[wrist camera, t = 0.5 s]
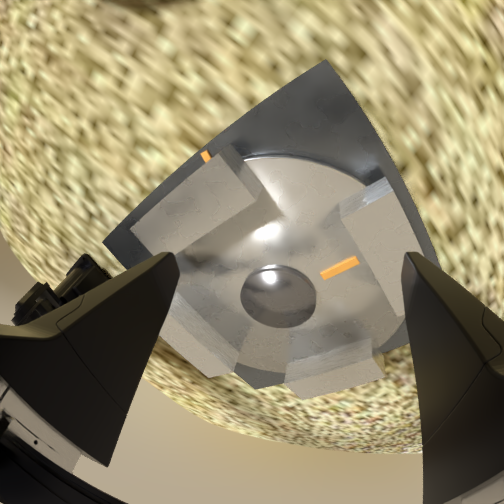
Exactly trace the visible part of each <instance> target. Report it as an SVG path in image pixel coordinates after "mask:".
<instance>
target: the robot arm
mask: <svg viewBox="0 0 504 504" xmlns="http://www.w3.org/2000/svg"><path fill="white" fill-rule="evenodd" d="M66 276H67V277H66V278H65V279H64V280H63V281H62V282H61V283H60V284H59V285H58V286H57V287H56V289H55V290H54V291H53V290H52V289H51V288H50V285H49V284H48V283H47V282H46V283H45V284H44V285H43V284H41V283H39V282H37V283H36V284H35V285H34V286H33V287H32V288H31V289H30V291H28V293H26V294H25V296H23V298H22V299H21V300H20V301H19V302H18V303H17V304H16V305H15V313H14V315H15V316H14V318H13V319H12V320H11V321H12V322H13V323H14V324H15V326H10V325H3V324H0V502H1V503H3V504H128V503H125V502H123V501H121V500H119V499H117V498H115V497H113V496H111V495H109V494H107V493H105V492H103V491H101V490H99V489H97V488H96V487H94V486H92V485H90V484H88V483H87V482H85V481H83V480H81V479H80V478H78V477H76V476H75V475H73V474H72V471H73V469H74V467H75V465H76V463H77V461H78V459H79V457H80V455H81V454H82V455H84V456H85V457H87V458H89V459H91V460H93V461H95V462H97V463H99V464H101V465H103V466H105V467H108V466H109V464H110V461H111V458H112V455H113V452H114V449H115V447H116V444H117V441H118V438H119V435H120V433H121V430H122V427H123V424H124V421H125V419H126V416H127V413H128V411H129V408H130V405H131V403H132V400H133V397H134V395H135V392H136V390H137V387H138V385H139V382H140V379H141V377H142V374H143V372H144V369H145V367H146V365H147V362H148V360H149V357H150V355H151V352H152V350H153V348H154V345H155V343H156V340H157V338H158V336H159V333H160V331H161V329H162V326H163V324H164V322H165V319H166V317H167V314H168V312H169V309H170V306H171V303H172V300H173V296H174V293H175V290H176V287H177V284H178V281H179V277H180V271H179V268H178V264H177V261H176V258H175V255H174V254H173V253H172V252H161V253H159V254H157V255H155V256H153V257H151V258H149V259H147V260H145V261H143V262H142V263H140V264H138V265H136V266H134V267H132V268H130V269H128V270H127V271H125V272H123V273H121V274H119V275H117V276H116V277H114V278H112V279H109V278H108V277H107V276H106V275H105V274H104V273H103V272H102V271H101V270H100V268H99V267H98V266H97V265H96V264H95V263H94V262H93V261H92V260H91V258H90V257H89V256H88V255H87V254H83V255H82V256H81V257H80V258H79V259H78V260H77V262H76V263H75V264H74V265H73V267H72V268H71V269H70V270H69V271H68V273H67V274H66ZM401 285H402V293H403V302H404V311H405V321H406V326H407V331H408V336H409V342H410V347H411V353H412V358H413V364H414V371H415V377H416V385H417V392H418V400H419V409H420V420H421V432H422V445H423V447H422V451H423V504H504V321H503V320H502V319H500V318H499V317H498V316H497V315H496V314H495V313H493V312H492V311H491V310H490V309H489V308H488V307H485V305H484V304H483V303H482V302H481V301H479V300H478V299H477V298H476V297H475V296H474V295H472V294H471V293H470V292H469V291H467V290H466V289H465V288H464V287H463V286H461V285H460V284H459V283H458V282H456V281H455V280H454V279H453V278H451V277H450V276H449V275H448V274H446V273H445V272H444V271H442V270H441V269H440V268H439V267H437V266H436V265H435V264H433V263H432V262H431V261H429V260H428V259H427V258H425V257H424V256H423V255H421V254H420V253H419V252H406V253H405V255H404V259H403V265H402V271H401Z"/></svg>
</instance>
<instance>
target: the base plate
mask: <svg viewBox="0 0 504 504" xmlns="http://www.w3.org/2000/svg"><path fill="white" fill-rule="evenodd" d="M229 144H231V145H232V146H233V147H234V148H235V150H236V151H237V152H238V153H239V155H240V156H241V157H242V158H248V157H255V156H262V155H290V156H297V157H304V158H310V159H313V160H317V161H320V162H324V163H327V164H330V165H333V166H335V167H337V168H339V169H342V170H344V171H346V172H348V173H350V174H352V175H353V176H355V177H357V178H358V179H360V180H361V181H363V182H364V183H366V184H367V185H371V184H373V183H374V182H376V181H378V180H380V179H382V178H383V177H386V179H387V180H388V182H389V184H390V186H391V187H392V189H393V191H394V193H395V195H396V197H397V199H398V201H399V203H400V205H401V207H402V209H403V211H404V213H405V215H406V217H407V219H408V221H409V223H410V225H411V227H412V230H413V232H414V234H415V236H416V238H417V241H418V243H419V245H420V248H421V250H422V252H423V255H424V257H425V258H427V259H428V260H429V261H431V262H432V263H433V264H435V265H436V266H437V267H439V268H440V269H441V267H440V264H439V262H438V259H437V256H436V254H435V251H434V248H433V246H432V243H431V241H430V238H429V236H428V234H427V231H426V229H425V226H424V224H423V222H422V220H421V217H420V215H419V213H418V211H417V208H416V206H415V204H414V202H413V200H412V198H411V196H410V194H409V192H408V190H407V188H406V186H405V184H404V182H403V180H402V178H401V176H400V174H399V172H398V170H397V168H396V166H395V164H394V162H393V161H392V159H391V157H390V155H389V153H388V152H387V150H386V148H385V146H384V145H383V143H382V141H381V140H380V138H379V136H378V134H377V133H376V131H375V129H374V128H373V126H372V125H371V123H370V121H369V120H368V118H367V117H366V115H365V114H364V112H363V110H362V109H361V107H360V106H359V104H358V103H357V101H356V100H355V98H354V97H353V95H352V94H351V93H350V91H349V90H348V88H347V87H346V85H345V84H344V83H343V81H342V80H341V78H340V77H339V76H338V74H337V73H336V72H335V70H334V69H333V68H332V66H331V65H330V64H329V62H328V61H327V60H324V61H322V62H321V63H319V64H317V65H316V66H314V67H313V68H311V69H309V70H308V71H306V72H305V73H303V74H302V75H300V76H299V77H297V78H296V79H294V80H293V81H291V82H290V83H288V84H287V85H285V86H284V87H282V88H281V89H279V90H278V91H276V92H275V93H273V94H272V95H271V96H269V97H268V98H266V99H265V100H264V101H262V102H261V103H259V104H258V105H257V106H255V107H254V108H253V109H251V110H250V111H249V112H247V113H246V114H244V115H243V116H242V117H241V118H239V119H238V120H237V121H235V122H234V123H233V124H231V125H230V126H229V127H228V128H226V129H225V130H224V131H222V132H221V133H220V134H219V135H217V136H216V137H215V138H214V139H212V140H211V141H210V142H209V143H208V144H206V145H205V146H204V147H203V148H201V149H200V150H199V151H198V152H197V153H195V154H194V155H193V156H192V157H191V158H190V159H188V160H187V161H186V162H185V163H184V164H183V165H182V166H180V167H179V168H178V169H177V170H176V171H175V172H174V173H172V174H171V175H170V176H169V177H168V178H167V179H166V180H165V181H164V182H162V183H161V184H160V185H159V186H158V187H157V188H156V189H155V190H154V191H153V192H152V193H151V194H150V195H148V196H147V197H146V198H145V199H144V200H143V201H142V202H141V203H140V204H139V205H138V206H137V207H136V208H135V209H134V210H133V211H132V212H131V213H130V214H129V215H128V216H127V217H126V218H125V219H124V220H123V221H122V222H121V223H120V224H119V225H118V226H117V227H116V228H115V229H114V230H113V231H112V232H111V233H110V234H109V235H108V236H107V237H106V238H105V239H104V241H103V242H102V243H103V244H104V245H105V246H106V247H107V248H108V250H109V251H110V252H111V253H112V254H113V255H114V256H115V257H116V258H117V260H118V261H119V262H120V263H121V264H122V265H123V266H124V267H125V268H126V269H127V270H128V269H130V268H132V267H134V266H136V265H138V264H140V263H142V262H143V261H145V260H147V259H149V258H151V257H153V255H152V254H151V252H150V251H149V250H148V249H147V248H146V247H145V246H144V245H143V244H142V242H141V241H140V240H139V239H138V238H137V237H136V236H135V234H134V233H133V232H132V231H131V230H130V228H131V227H133V226H134V225H135V224H136V223H137V222H138V221H139V220H140V219H141V218H142V217H143V216H144V215H145V214H147V213H148V212H149V211H150V210H151V209H152V208H153V207H154V206H155V205H157V204H158V203H159V202H160V201H161V200H162V199H163V198H165V197H166V196H167V195H168V194H169V193H170V192H171V191H173V190H174V189H175V188H176V187H177V186H178V185H180V184H181V183H182V182H183V181H184V180H186V179H187V178H188V177H189V176H190V175H192V174H193V173H194V172H195V171H196V170H198V169H199V168H200V167H201V166H203V165H204V164H205V163H206V162H208V161H209V160H210V159H211V158H213V157H214V156H215V155H216V154H218V153H219V152H220V151H222V150H223V149H224V148H225V147H227V146H228V145H229ZM408 343H410V342H409V336H408V331H407V326H406V321H405V319H404V321H403V322H402V323H401V325H400V326H399V328H398V329H397V330H396V332H395V333H394V334H393V335H392V336H391V337H390V338H389V339H388V340H387V341H386V342H385V343H384V344H383V345H382V346H380V347H379V349H380V351H381V353H385V352H387V351H390V350H393V349H395V348H398V347H400V346H403V345H405V344H408ZM234 372H235V373H236V374H237V375H238V376H239V377H241V378H242V379H243V380H244V381H245V382H247V383H248V384H249V385H250V386H252V387H253V388H254V389H260V388H264V387H269V386H273V385H278V384H282V383H284V380H285V374H286V373H278V372H271V371H265V370H260V369H257V368H253V367H249V366H246V365H243V364H241V363H238V362H236V366H235V369H234Z"/></svg>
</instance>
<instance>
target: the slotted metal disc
mask: <svg viewBox="0 0 504 504" xmlns="http://www.w3.org/2000/svg"><path fill="white" fill-rule="evenodd" d="M130 230H131V231H132V232H133V233H134V234H135V236H136V237H137V238H138V239H139V240H140V241H141V242H142V244H143V245H144V246H145V247H146V248H147V249H148V250H149V251H150V252H151V254H152V255H153V256H155V255H157V254H159V253H161V252H172V253H173V254H174V255H175V258H176V261H177V264H178V268H179V271H180V277H179V281H178V284H177V287H176V290H175V293H174V296H173V300H172V303H171V306H170V309H169V312H168V314H167V317H166V319H165V322H164V324H163V326H162V329H161V331H160V333H159V336H160V337H161V338H162V339H164V340H165V341H166V342H167V343H168V344H169V345H170V346H171V347H173V348H174V349H175V350H176V351H177V352H178V353H179V354H181V355H182V356H183V357H184V358H185V359H186V360H188V361H189V362H190V363H191V364H192V365H193V366H195V367H196V368H197V369H198V370H200V371H201V372H202V373H203V374H204V375H206V376H207V377H208V378H211V377H215V376H219V375H224V374H228V373H232V372H234V369H235V366H236V362H238V363H241V364H243V365H246V366H249V367H253V368H257V369H260V370H265V371H271V372H278V373H286V374H285V380H284V384H285V385H286V386H287V387H288V388H289V389H290V390H291V391H293V392H294V393H295V394H296V395H297V396H298V397H300V398H301V399H302V400H304V399H308V398H313V397H317V396H321V395H325V394H329V393H333V392H337V391H341V390H344V389H348V388H352V387H355V386H358V385H362V384H365V383H368V382H372V381H375V380H378V379H381V378H384V377H385V365H384V356H383V354H382V353H381V351H380V349H379V347H380V346H382V345H383V344H384V343H385V342H386V341H387V340H388V339H389V338H390V337H391V336H392V335H393V334H394V333H395V332H396V330H397V329H398V328H399V326H400V325H401V323H402V322H403V321H404V319H405V311H404V302H403V293H402V285H401V271H402V265H403V259H404V255H405V253H406V252H419V253H420V254H421V255H423V252H422V250H421V248H420V245H419V243H418V241H417V238H416V236H415V234H414V232H413V230H412V227H411V225H410V223H409V221H408V219H407V217H406V215H405V213H404V211H403V209H402V207H401V205H400V203H399V201H398V199H397V197H396V195H395V193H394V191H393V189H392V187H391V186H390V184H389V182H388V180H387V179H386V177H383V178H382V179H380V180H378V181H376V182H374V183H373V184H371V185H367V184H366V183H364V182H363V181H361V180H360V179H358V178H357V177H355V176H353V175H352V174H350V173H348V172H346V171H344V170H342V169H339V168H337V167H335V166H333V165H330V164H327V163H324V162H320V161H317V160H313V159H310V158H304V157H297V156H290V155H262V156H255V157H248V158H242V157H241V156H240V155H239V153H238V152H237V151H236V150H235V148H234V147H233V146H232V145H231V144H229V145H228V146H227V147H225V148H224V149H223V150H222V151H220V152H219V153H218V154H216V155H215V156H214V157H213V158H211V159H210V160H209V161H208V162H206V163H205V164H204V165H203V166H201V167H200V168H199V169H198V170H196V171H195V172H194V173H193V174H192V175H190V176H189V177H188V178H187V179H186V180H184V181H183V182H182V183H181V184H180V185H178V186H177V187H176V188H175V189H174V190H173V191H171V192H170V193H169V194H168V195H167V196H166V197H165V198H163V199H162V200H161V201H160V202H159V203H158V204H157V205H155V206H154V207H153V208H152V209H151V210H150V211H149V212H148V213H147V214H145V215H144V216H143V217H142V218H141V219H140V220H139V221H138V222H137V223H136V224H135V225H134V226H133V227H131V228H130ZM423 256H424V255H423Z"/></svg>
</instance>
